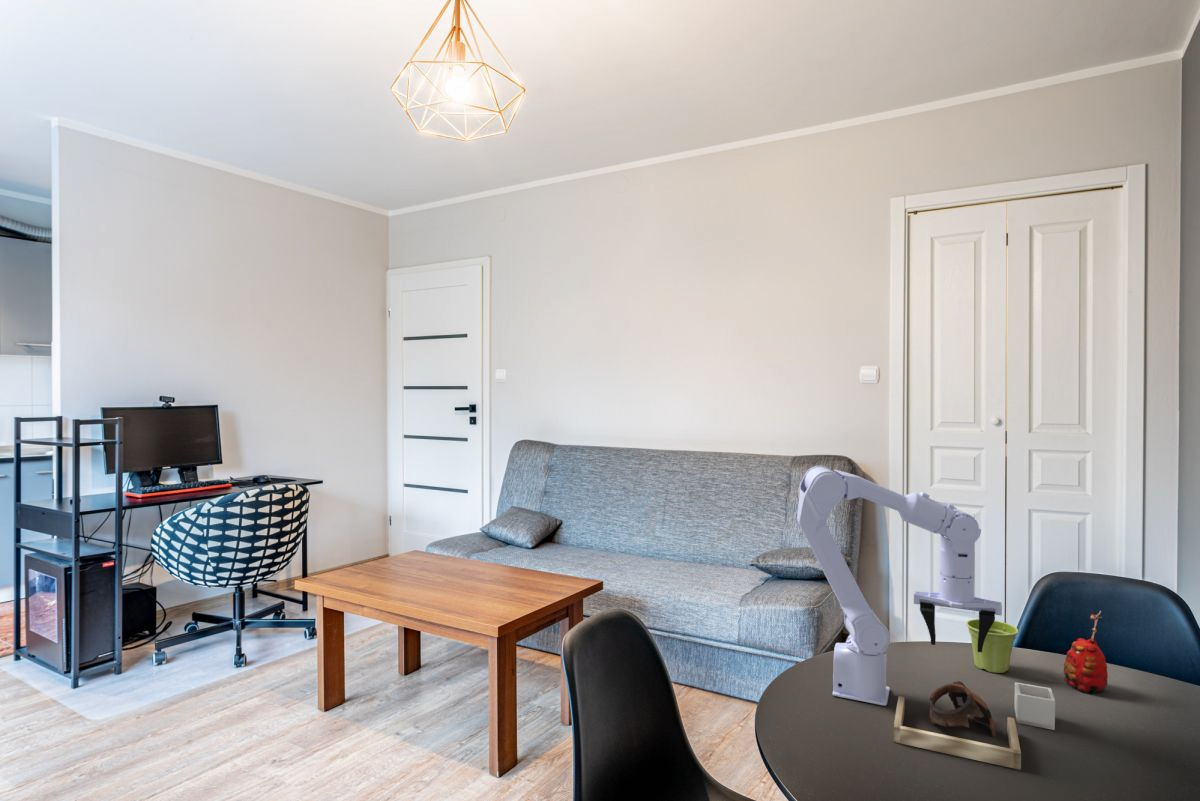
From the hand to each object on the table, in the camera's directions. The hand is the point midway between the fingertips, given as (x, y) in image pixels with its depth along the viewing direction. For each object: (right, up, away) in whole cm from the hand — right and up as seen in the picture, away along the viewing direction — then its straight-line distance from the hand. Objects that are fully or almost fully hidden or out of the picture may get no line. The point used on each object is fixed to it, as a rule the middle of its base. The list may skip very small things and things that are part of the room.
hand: (956, 646), depth 128 cm
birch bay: (-7, -10, -13) cm, 18 cm away
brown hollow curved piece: (-4, -11, -10) cm, 15 cm away
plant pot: (+15, -10, +15) cm, 23 cm away
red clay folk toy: (+28, -10, +6) cm, 31 cm away
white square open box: (+10, -10, -7) cm, 16 cm away
